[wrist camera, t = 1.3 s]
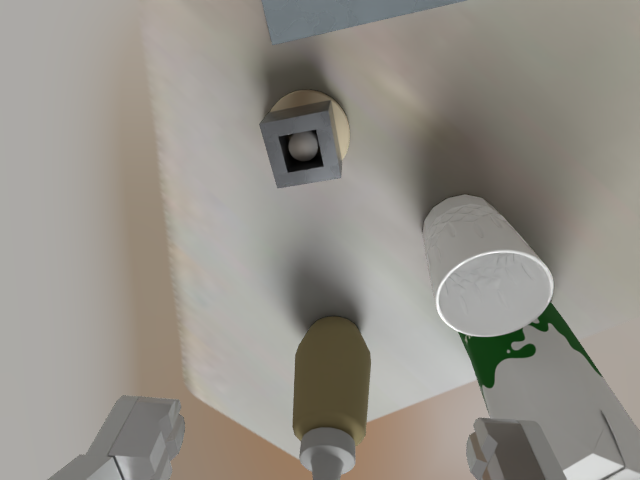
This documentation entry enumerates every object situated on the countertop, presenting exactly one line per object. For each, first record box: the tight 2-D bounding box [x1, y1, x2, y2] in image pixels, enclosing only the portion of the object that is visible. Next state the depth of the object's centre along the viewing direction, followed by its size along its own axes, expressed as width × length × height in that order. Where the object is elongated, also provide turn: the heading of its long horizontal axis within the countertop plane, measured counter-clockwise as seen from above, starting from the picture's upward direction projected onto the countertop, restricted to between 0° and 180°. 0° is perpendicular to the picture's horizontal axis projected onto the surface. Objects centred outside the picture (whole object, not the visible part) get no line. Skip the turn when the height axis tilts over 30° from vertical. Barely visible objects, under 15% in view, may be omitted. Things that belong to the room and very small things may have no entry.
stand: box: [270, 90, 350, 161], centre depth 30 cm, size 7×7×4 cm
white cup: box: [423, 194, 554, 337], centre depth 31 cm, size 8×8×10 cm
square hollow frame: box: [259, 100, 342, 188], centre depth 29 cm, size 5×5×4 cm
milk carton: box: [458, 303, 640, 480], centre depth 31 cm, size 9×9×20 cm
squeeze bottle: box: [293, 316, 371, 480], centre depth 36 cm, size 8×8×18 cm
